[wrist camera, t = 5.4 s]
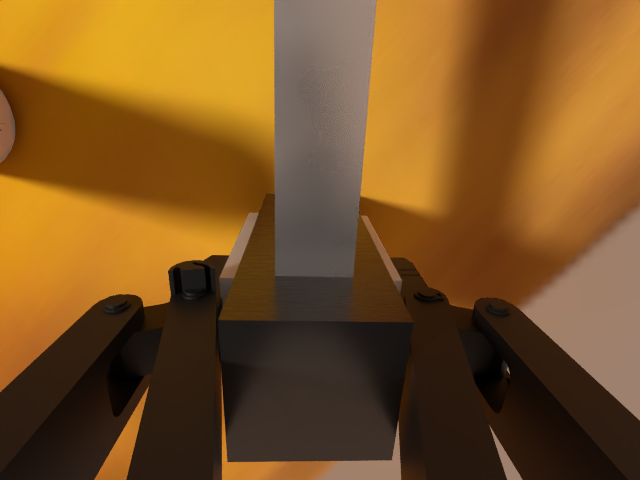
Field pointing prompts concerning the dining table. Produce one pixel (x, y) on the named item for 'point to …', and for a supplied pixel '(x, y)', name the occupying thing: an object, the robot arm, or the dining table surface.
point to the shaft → (315, 265)
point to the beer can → (6, 127)
